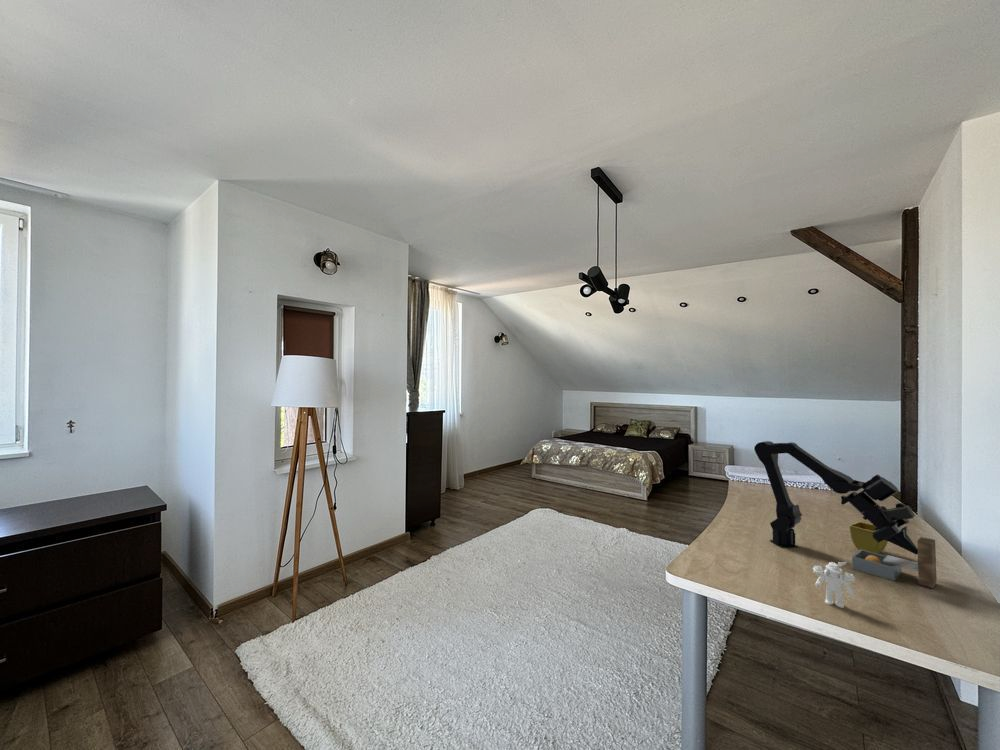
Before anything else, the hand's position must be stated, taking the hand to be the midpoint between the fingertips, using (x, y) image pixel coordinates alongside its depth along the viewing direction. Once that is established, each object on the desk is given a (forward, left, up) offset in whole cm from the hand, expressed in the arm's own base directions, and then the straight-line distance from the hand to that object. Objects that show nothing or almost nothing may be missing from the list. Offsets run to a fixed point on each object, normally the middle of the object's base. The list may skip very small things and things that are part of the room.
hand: (918, 553), depth 122 cm
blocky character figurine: (-37, -11, -9) cm, 40 cm away
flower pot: (+7, +23, -9) cm, 25 cm away
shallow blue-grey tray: (-5, +8, -9) cm, 13 cm away
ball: (-6, +9, -6) cm, 12 cm away
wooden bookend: (-1, +2, -8) cm, 9 cm away
